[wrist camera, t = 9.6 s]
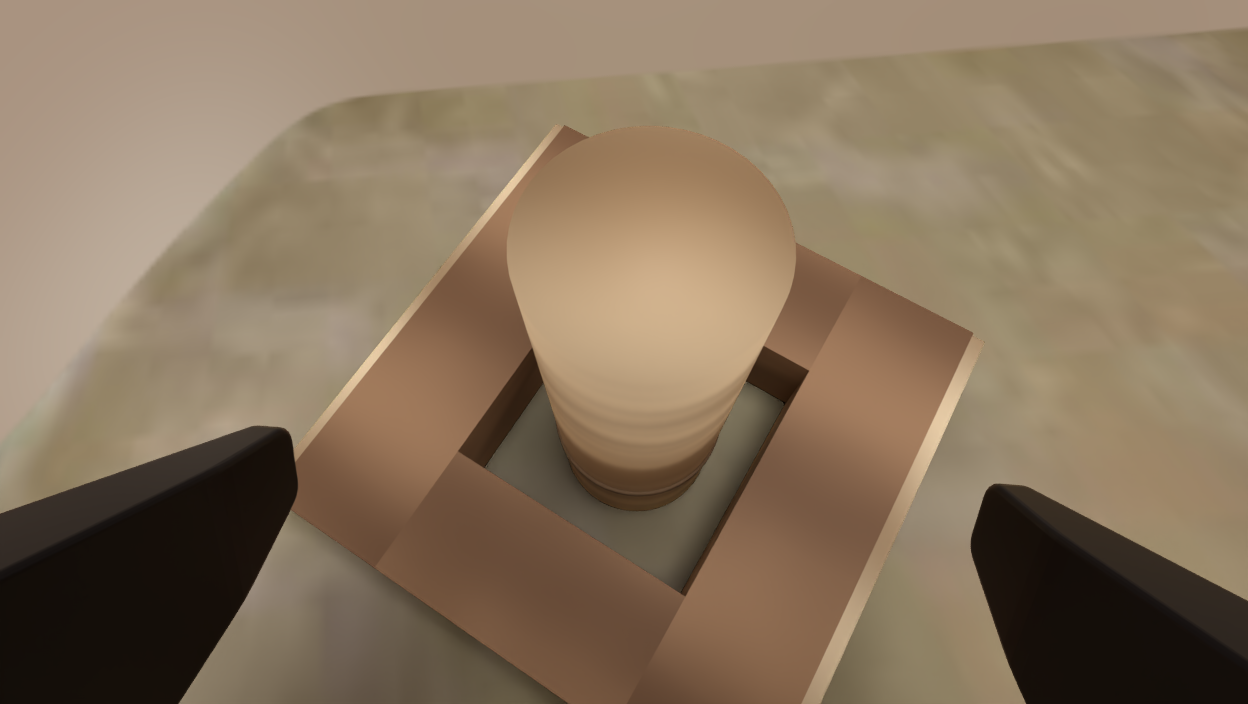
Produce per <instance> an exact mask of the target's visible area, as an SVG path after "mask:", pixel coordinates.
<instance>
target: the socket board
mask: <svg viewBox="0 0 1248 704" xmlns="http://www.w3.org/2000/svg"><path fill="white" fill-rule="evenodd" d="M587 138H589V137H587V136H585V135H583V134H581V133H579V132H577V131H575V130H573V129H571V128H569V127H567V126H565V125H564V127H562V126H560V125H558V124H556V125H555V126H554V128H553V129H552V130H551V131H550V132H549V134H548V135H547V136H546V137H545V139H544V140H543V141H542V142H541V144H540V145H539V146H538V147H537V149H536V150H535V151H534V152H533V154H532V155H531V156H530V157H529V159H528V160H527V161H526V162H525V163H524V165H523V166H522V167H521V168H520V170H519V171H518V172H517V173H516V175H515V176H514V177H513V178H512V180H511V181H510V182H509V183H508V185H507V186H506V187H505V188H504V190H503V191H502V192H501V193H500V194H499V196H498V197H497V198H496V199H495V201H494V202H493V203H492V204H491V206H490V207H489V208H488V209H487V211H486V212H485V213H484V214H483V216H482V217H481V218H480V219H479V221H478V222H477V223H476V224H475V226H474V227H473V228H472V229H471V230H470V232H469V233H468V234H467V235H466V237H465V238H464V239H463V240H462V242H461V243H460V244H459V245H458V247H457V248H456V249H455V250H454V252H453V253H452V254H451V255H450V257H449V258H448V259H447V260H446V261H445V263H444V264H443V265H442V266H441V268H440V269H439V270H438V271H437V273H436V274H435V275H434V276H433V278H432V279H431V280H430V281H429V283H428V284H427V285H426V286H425V288H424V289H423V290H422V291H421V292H420V294H419V295H418V296H417V297H416V299H415V300H414V301H413V302H412V304H411V305H410V306H409V307H408V309H407V310H406V311H405V312H404V314H403V315H402V316H401V317H400V319H399V320H398V321H397V322H396V323H395V325H394V326H393V327H392V328H391V330H390V331H389V332H388V333H387V335H386V336H385V337H384V338H383V340H382V341H381V342H380V343H379V345H378V346H377V347H376V348H375V350H374V351H373V352H372V353H371V355H370V356H369V357H368V358H367V359H366V361H365V362H364V363H363V364H362V366H361V367H360V368H359V369H358V371H357V372H356V373H355V374H354V376H353V377H352V378H351V379H350V381H349V382H348V383H347V384H346V386H345V387H344V388H343V389H342V390H341V392H340V393H339V394H338V395H337V397H336V398H335V399H334V400H333V402H332V403H331V404H330V405H329V407H328V408H327V409H326V410H325V412H324V413H323V414H322V415H321V417H320V418H319V419H318V420H317V421H316V423H315V424H314V425H313V426H312V428H311V429H310V430H309V431H308V433H307V434H306V435H305V436H304V438H303V439H302V440H301V441H300V443H299V444H298V445H297V446H296V448H295V449H294V457H295V464H296V470H297V477H298V492H297V496H296V499H295V502H294V504H293V506H292V508H291V510H292V511H294V512H295V513H296V514H298V515H299V516H301V517H302V518H304V519H305V520H306V521H308V522H309V523H311V524H312V525H314V526H315V527H317V528H318V529H319V530H321V531H322V532H324V533H325V534H327V535H328V536H329V537H331V538H332V539H334V540H335V541H337V542H338V543H339V544H341V545H342V546H344V547H345V548H347V549H348V550H349V551H351V552H352V553H354V554H355V555H357V556H358V557H359V558H361V559H362V560H364V561H365V562H367V563H368V564H369V565H371V566H372V567H374V568H375V569H377V570H378V571H380V572H381V573H382V574H384V575H385V576H387V577H388V578H390V579H391V580H392V581H394V582H395V583H397V584H398V585H400V586H401V587H402V588H404V589H405V590H407V591H408V592H410V593H411V594H412V595H414V596H415V597H417V598H418V599H420V600H421V601H422V602H424V603H425V604H427V605H428V606H430V607H431V608H432V609H434V610H435V611H437V612H438V613H440V614H441V615H443V616H444V617H445V618H447V619H448V620H450V621H451V622H453V623H454V624H455V625H457V626H458V627H460V628H461V629H463V630H464V631H465V632H467V633H468V634H470V635H471V636H473V637H474V638H475V639H477V640H478V641H480V642H481V643H483V644H484V645H485V646H487V647H488V648H490V649H491V650H493V651H494V652H495V653H497V654H498V655H500V656H501V657H503V658H504V659H506V660H507V661H508V662H510V663H511V664H513V665H514V666H516V667H517V668H518V669H520V670H521V671H523V672H524V673H526V674H527V675H528V676H530V677H531V678H533V679H534V680H536V681H537V682H538V683H540V684H541V685H543V686H544V687H546V688H547V689H548V690H550V691H551V692H553V693H554V694H556V695H557V696H558V697H560V698H561V699H563V700H564V701H566V702H567V703H569V704H820V703H821V701H822V699H823V697H824V694H825V692H826V690H827V688H828V686H829V683H830V681H831V679H832V677H833V675H834V673H835V670H836V668H837V666H838V664H839V662H840V659H841V657H842V655H843V653H844V651H845V648H846V646H847V644H848V642H849V640H850V637H851V635H852V633H853V631H854V629H855V626H856V624H857V622H858V620H859V618H860V615H861V613H862V611H863V609H864V607H865V604H866V602H867V600H868V598H869V596H870V593H871V591H872V589H873V587H874V585H875V582H876V580H877V578H878V576H879V574H880V572H881V569H882V567H883V565H884V563H885V561H886V558H887V556H888V554H889V552H890V550H891V547H892V545H893V543H894V541H895V539H896V536H897V534H898V532H899V530H900V528H901V525H902V523H903V521H904V519H905V517H906V514H907V512H908V510H909V508H910V506H911V503H912V501H913V499H914V497H915V495H916V492H917V490H918V488H919V486H920V484H921V481H922V479H923V477H924V475H925V473H926V471H927V468H928V466H929V464H930V462H931V460H932V457H933V455H934V453H935V451H936V449H937V446H938V444H939V442H940V440H941V438H942V435H943V433H944V431H945V429H946V427H947V424H948V422H949V420H950V418H951V416H952V413H953V411H954V409H955V407H956V405H957V402H958V400H959V398H960V396H961V394H962V391H963V389H964V387H965V385H966V383H967V380H968V378H969V376H970V374H971V372H972V370H973V367H974V365H975V363H976V361H977V359H978V356H979V354H980V352H981V350H982V348H983V345H984V343H985V342H984V341H982V340H980V339H978V338H976V337H974V336H972V335H973V333H972V332H970V331H969V330H967V329H965V328H963V327H961V326H959V325H957V324H955V323H953V322H951V321H949V320H947V319H945V318H943V317H941V316H939V315H937V314H935V313H933V312H931V311H929V310H927V309H925V308H923V307H921V306H919V305H917V304H915V303H913V302H911V301H910V300H908V299H906V298H904V297H902V296H900V295H898V294H896V293H894V292H892V291H890V290H888V289H886V288H884V287H882V286H880V285H878V284H876V283H874V282H872V281H870V280H868V279H866V278H864V277H862V276H860V275H858V274H856V273H854V272H852V271H850V270H849V269H847V268H845V267H843V266H841V265H839V264H837V263H835V262H833V261H831V260H829V259H827V258H825V257H823V256H821V255H819V254H817V253H815V252H813V251H811V250H809V249H807V248H805V247H803V246H801V245H799V244H797V243H796V265H795V273H794V278H793V282H792V286H791V289H790V293H789V295H788V297H787V299H786V302H785V304H784V306H783V308H782V310H781V312H780V314H779V316H778V318H777V320H776V322H775V324H774V326H773V328H772V330H771V332H770V334H769V336H768V338H767V340H766V342H765V344H764V346H763V348H762V350H761V352H760V354H759V356H758V358H757V360H756V362H755V364H754V366H753V368H752V370H751V372H750V374H749V376H748V378H747V380H746V381H748V382H749V383H751V384H753V385H755V386H757V387H758V388H760V389H762V390H764V391H765V392H767V393H769V394H771V395H773V396H774V397H776V398H778V399H780V400H782V401H783V402H785V405H784V407H783V409H782V411H781V412H780V414H779V416H778V418H777V420H776V421H775V423H774V425H773V427H772V429H771V431H770V432H769V434H768V436H767V438H766V440H765V441H764V443H763V445H762V447H761V449H760V450H759V452H758V454H757V456H756V458H755V460H754V461H753V463H752V465H751V467H750V469H749V470H748V472H747V474H746V476H745V478H744V479H743V481H742V483H741V485H740V487H739V489H738V490H737V492H736V494H735V496H734V498H733V499H732V501H731V503H730V505H729V507H728V509H727V510H726V512H725V514H724V516H723V518H722V519H721V521H720V523H719V525H718V527H717V528H716V530H715V532H714V534H713V536H712V538H711V539H710V541H709V543H708V545H707V547H706V548H705V550H704V552H703V554H702V556H701V557H700V559H699V561H698V563H697V565H696V567H695V568H694V570H693V572H692V574H691V576H690V577H689V579H688V581H687V583H686V585H685V586H684V588H683V590H682V592H681V593H679V592H677V591H676V590H674V589H673V588H671V587H670V586H668V585H666V584H665V583H663V582H662V581H660V580H659V579H657V578H656V577H654V576H652V575H651V574H649V573H648V572H646V571H645V570H643V569H641V568H640V567H638V566H637V565H635V564H634V563H632V562H630V561H629V560H627V559H626V558H624V557H623V556H621V555H620V554H618V553H616V552H615V551H613V550H612V549H610V548H609V547H607V546H605V545H604V544H602V543H601V542H599V541H598V540H596V539H594V538H593V537H591V536H590V535H588V534H587V533H585V532H583V531H582V530H580V529H579V528H577V527H576V526H574V525H573V524H571V523H569V522H568V521H566V520H565V519H563V518H562V517H560V516H558V515H557V514H555V513H554V512H552V511H551V510H549V509H547V508H546V507H544V506H543V505H541V504H540V503H538V502H536V501H535V500H533V499H532V498H530V497H529V496H527V495H526V494H524V493H522V492H521V491H519V490H518V489H516V488H515V487H513V486H511V485H510V484H508V483H507V482H505V481H504V480H502V479H500V478H499V477H497V476H496V475H494V474H493V473H491V472H490V471H488V470H486V469H485V468H484V467H485V465H486V464H487V463H488V461H489V460H490V458H491V457H492V455H493V454H494V452H495V451H496V450H497V448H498V447H499V445H500V444H501V442H502V441H503V440H504V438H505V437H506V435H507V434H508V432H509V431H510V429H511V428H512V427H513V425H514V424H515V422H516V421H517V419H518V418H519V416H520V415H521V414H522V412H523V411H524V409H525V408H526V406H527V405H528V404H529V402H530V401H531V399H532V398H533V396H534V395H535V393H536V392H537V391H538V389H539V388H540V386H541V385H542V383H543V379H542V376H541V373H540V370H539V367H538V364H537V361H536V357H535V354H534V351H533V348H532V345H531V342H530V339H529V336H528V333H527V330H526V326H525V323H524V320H523V317H522V314H521V311H520V308H519V305H518V302H517V299H516V296H515V292H514V289H513V286H512V283H511V280H510V276H509V270H508V264H507V237H508V231H509V225H510V222H511V218H512V215H513V212H514V209H515V207H516V205H517V203H518V201H519V199H520V196H521V195H522V193H523V192H524V190H525V189H526V187H527V186H528V184H529V182H530V181H531V180H532V179H533V178H534V176H535V175H536V174H537V173H538V172H539V171H540V170H541V169H542V168H543V167H544V166H545V165H546V164H547V163H548V162H549V161H550V160H552V159H553V158H554V157H555V156H557V155H558V154H560V153H561V152H563V151H564V150H566V149H567V148H569V147H571V146H573V145H574V144H576V143H578V142H580V141H582V140H584V139H587Z"/></svg>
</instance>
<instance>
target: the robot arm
mask: <svg viewBox="0 0 1248 704" xmlns="http://www.w3.org/2000/svg"><path fill="white" fill-rule="evenodd" d="M297 492H298V477H297V470H296V464H295V457H294V450H293V443H292V439H291V436H290V434H289V432H288V431H287V430H286V429H284V428H281V427H269V426H251V427H248V428H245V429H243V430H240V431H237V432H234V433H231V434H228V435H225V436H222V437H220V438H217V439H214V440H211V441H208V442H205V443H202V444H199V445H197V446H194V447H191V448H188V449H185V450H182V451H179V452H176V453H173V454H171V455H168V456H165V457H162V458H159V459H156V460H153V461H150V462H148V463H145V464H142V465H139V466H136V467H133V468H130V469H127V470H125V471H122V472H119V473H116V474H113V475H110V476H107V477H104V478H101V479H99V480H96V481H93V482H90V483H87V484H84V485H81V486H78V487H76V488H73V489H70V490H67V491H64V492H61V493H58V494H55V495H53V496H50V497H47V498H44V499H41V500H38V501H35V502H32V503H29V504H27V505H24V506H21V507H18V508H15V509H12V510H9V511H6V512H4V513H1V514H0V704H179V702H180V701H181V699H182V698H183V696H184V695H185V693H186V691H187V690H188V688H189V687H190V685H191V684H192V682H193V681H194V679H195V677H196V676H197V674H198V673H199V671H200V670H201V668H202V667H203V665H204V663H205V662H206V660H207V659H208V657H209V656H210V654H211V653H212V651H213V649H214V648H215V646H216V645H217V643H218V642H219V640H220V639H221V637H222V635H223V634H224V632H225V631H226V629H227V628H228V626H229V625H230V623H231V621H232V620H233V618H234V617H235V615H236V613H237V612H238V610H239V608H240V607H241V605H242V604H243V602H244V600H245V598H246V597H247V595H248V593H249V591H250V589H251V587H252V586H253V584H254V582H255V580H256V578H257V576H258V574H259V572H260V570H261V568H262V566H263V564H264V562H265V560H266V558H267V556H268V554H269V552H270V550H271V548H272V546H273V544H274V542H275V540H276V538H277V536H278V534H279V532H280V530H281V528H282V526H283V524H284V522H285V520H286V518H287V516H288V514H289V512H290V510H291V508H292V506H293V504H294V502H295V499H296V496H297ZM971 553H972V558H973V561H974V564H975V567H976V570H977V573H978V576H979V579H980V582H981V585H982V588H983V591H984V594H985V597H986V600H987V603H988V606H989V608H990V611H991V614H992V617H993V620H994V623H995V626H996V629H997V632H998V635H999V638H1000V641H1001V644H1002V647H1003V650H1004V653H1005V655H1006V658H1007V661H1008V663H1009V666H1010V668H1011V671H1012V673H1013V675H1014V678H1015V680H1016V682H1017V685H1018V687H1019V689H1020V691H1021V693H1022V696H1023V698H1024V700H1025V702H1026V704H1248V601H1247V600H1245V599H1243V598H1241V597H1239V596H1237V595H1235V594H1233V593H1231V592H1229V591H1228V590H1226V589H1224V588H1222V587H1220V586H1218V585H1216V584H1214V583H1212V582H1210V581H1208V580H1206V579H1204V578H1203V577H1201V576H1199V575H1197V574H1195V573H1193V572H1191V571H1189V570H1187V569H1185V568H1183V567H1181V566H1179V565H1177V564H1176V563H1174V562H1172V561H1170V560H1168V559H1166V558H1164V557H1162V556H1160V555H1158V554H1156V553H1154V552H1152V551H1150V550H1149V549H1147V548H1145V547H1143V546H1141V545H1139V544H1137V543H1135V542H1133V541H1131V540H1129V539H1127V538H1125V537H1124V536H1122V535H1120V534H1118V533H1116V532H1114V531H1112V530H1110V529H1108V528H1106V527H1104V526H1102V525H1100V524H1098V523H1097V522H1095V521H1093V520H1091V519H1089V518H1087V517H1085V516H1083V515H1081V514H1079V513H1077V512H1075V511H1073V510H1071V509H1070V508H1068V507H1066V506H1064V505H1062V504H1060V503H1058V502H1056V501H1054V500H1052V499H1050V498H1048V497H1046V496H1045V495H1043V494H1041V493H1039V492H1037V491H1035V490H1033V489H1031V488H1029V487H1026V486H1022V485H1010V484H993V485H992V486H990V487H989V488H988V489H987V490H986V492H985V495H984V497H983V501H982V504H981V507H980V510H979V513H978V517H977V520H976V523H975V526H974V529H973V533H972V537H971Z"/></svg>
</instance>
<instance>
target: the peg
mask: <svg viewBox="0 0 1248 704" xmlns="http://www.w3.org/2000/svg"><path fill="white" fill-rule="evenodd" d="M507 264H508V270H509V276H510V280H511V283H512V286H513V289H514V292H515V296H516V299H517V302H518V305H519V308H520V311H521V314H522V317H523V320H524V323H525V326H526V330H527V333H528V336H529V339H530V342H531V345H532V348H533V351H534V354H535V357H536V361H537V364H538V367H539V370H540V373H541V376H542V379H543V382H544V385H545V388H546V391H547V395H548V398H549V401H550V404H551V407H552V410H553V413H554V416H555V419H556V426H557V431H558V435H559V438H560V441H561V444H562V446H563V449H564V451H565V453H566V455H567V457H568V460H569V463H570V466H571V468H572V470H573V472H574V475H575V476H576V478H577V479H578V481H579V482H580V484H581V485H582V486H583V487H584V488H585V489H586V490H587V491H588V492H589V493H590V494H591V495H592V496H594V497H595V498H596V499H598V500H599V501H601V502H603V503H605V504H607V505H609V506H612V507H615V508H618V509H623V510H628V511H645V510H651V509H656V508H659V507H661V506H664V505H666V504H668V503H670V502H672V501H674V500H675V499H677V498H678V497H680V496H681V495H682V494H683V493H684V492H686V491H687V490H688V488H689V487H690V486H691V485H692V484H693V483H694V481H695V479H696V478H697V476H698V475H699V473H700V471H701V469H702V467H703V465H704V464H705V463H706V461H707V460H708V458H709V457H710V455H711V453H712V451H713V449H714V447H715V444H716V442H717V439H718V436H719V433H720V431H721V429H722V427H723V425H724V423H725V421H726V419H727V417H728V415H729V413H730V411H731V409H732V407H733V405H734V403H735V401H736V399H737V397H738V395H739V393H740V391H741V389H742V387H743V385H744V383H745V382H746V380H747V378H748V376H749V374H750V372H751V370H752V368H753V366H754V364H755V362H756V360H757V358H758V356H759V354H760V352H761V350H762V348H763V346H764V344H765V342H766V340H767V338H768V336H769V334H770V332H771V330H772V328H773V326H774V324H775V322H776V320H777V318H778V316H779V314H780V312H781V310H782V308H783V306H784V304H785V302H786V299H787V297H788V295H789V293H790V289H791V286H792V282H793V278H794V273H795V265H796V242H795V237H794V231H793V226H792V223H791V220H790V217H789V214H788V211H787V209H786V207H785V205H784V203H783V201H782V199H781V197H780V195H779V194H778V193H777V191H776V190H775V188H774V187H773V185H772V184H771V182H770V181H769V180H768V179H767V178H766V177H765V176H764V174H763V173H762V172H761V171H760V170H759V169H758V168H757V167H756V166H755V165H753V164H752V163H751V162H750V161H749V160H748V159H747V158H745V157H744V156H742V155H741V154H739V153H738V152H736V151H735V150H733V149H732V148H730V147H728V146H726V145H724V144H722V143H721V142H719V141H717V140H714V139H711V138H709V137H706V136H704V135H701V134H698V133H694V132H691V131H687V130H683V129H676V128H670V127H659V126H639V127H628V128H622V129H615V130H611V131H608V132H604V133H600V134H597V135H595V136H592V137H589V138H587V139H584V140H582V141H580V142H578V143H576V144H574V145H573V146H571V147H569V148H567V149H566V150H564V151H563V152H561V153H560V154H558V155H557V156H555V157H554V158H553V159H552V160H550V161H549V162H548V163H547V164H546V165H545V166H544V167H543V168H542V169H541V170H540V171H539V172H538V173H537V174H536V175H535V176H534V178H533V179H532V180H531V181H530V182H529V184H528V186H527V187H526V189H525V190H524V192H523V193H522V195H521V196H520V199H519V201H518V203H517V205H516V207H515V209H514V212H513V215H512V218H511V222H510V225H509V231H508V237H507Z"/></svg>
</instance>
